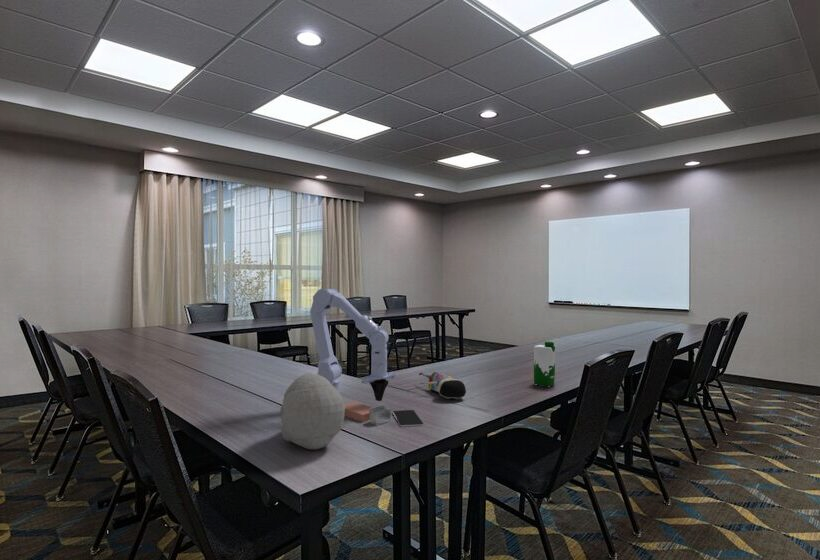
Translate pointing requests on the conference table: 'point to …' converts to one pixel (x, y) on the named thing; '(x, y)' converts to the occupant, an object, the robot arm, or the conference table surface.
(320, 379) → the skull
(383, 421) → the grey rectangular block
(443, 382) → the toy
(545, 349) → the milk carton
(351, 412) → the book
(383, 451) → the conference table surface
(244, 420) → the conference table surface
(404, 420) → the smartphone
